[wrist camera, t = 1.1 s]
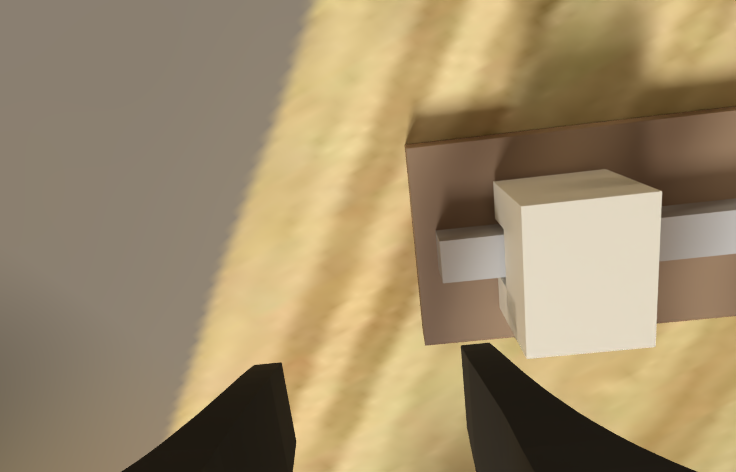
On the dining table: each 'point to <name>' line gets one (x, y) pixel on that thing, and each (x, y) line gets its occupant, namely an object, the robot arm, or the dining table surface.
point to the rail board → (568, 155)
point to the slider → (579, 262)
